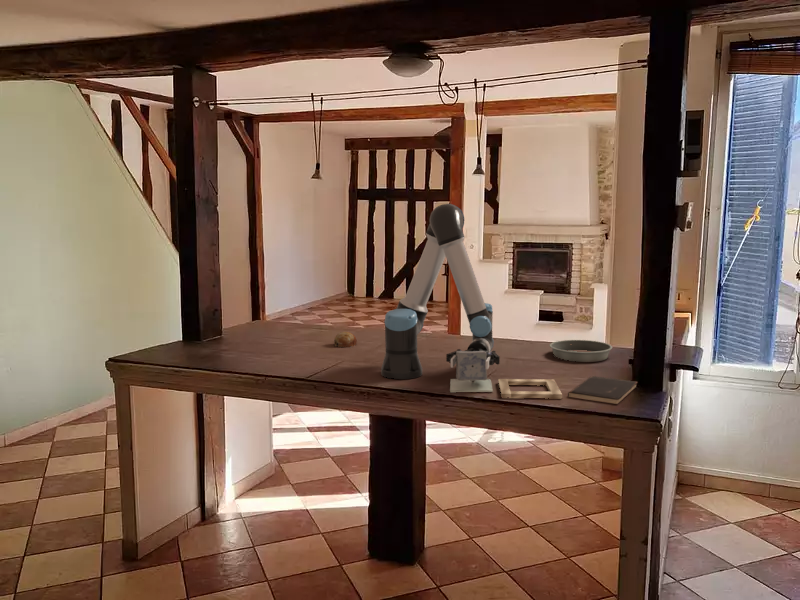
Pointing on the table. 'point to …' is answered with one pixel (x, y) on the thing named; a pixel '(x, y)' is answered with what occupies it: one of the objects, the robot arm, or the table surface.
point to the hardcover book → (603, 389)
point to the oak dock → (550, 383)
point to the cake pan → (597, 349)
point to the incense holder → (471, 365)
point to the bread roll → (345, 339)
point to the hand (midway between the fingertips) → (469, 364)
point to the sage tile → (470, 386)
